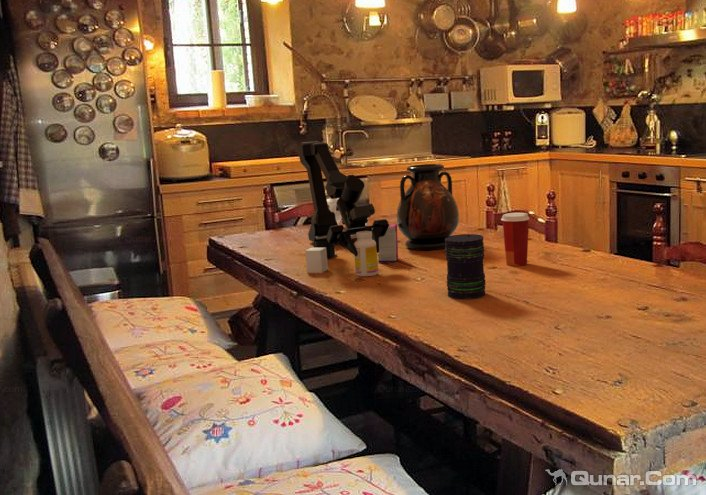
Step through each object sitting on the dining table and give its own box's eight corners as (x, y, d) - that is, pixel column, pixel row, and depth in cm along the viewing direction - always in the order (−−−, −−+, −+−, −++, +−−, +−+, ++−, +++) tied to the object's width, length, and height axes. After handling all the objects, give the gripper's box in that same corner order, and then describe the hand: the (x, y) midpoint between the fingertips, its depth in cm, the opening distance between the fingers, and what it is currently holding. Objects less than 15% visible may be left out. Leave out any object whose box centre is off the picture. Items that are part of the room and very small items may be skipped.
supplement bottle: (381, 272, 229) (378, 230, 226) (374, 277, 223) (371, 234, 220) (359, 272, 231) (357, 230, 229) (352, 277, 225) (349, 234, 222)
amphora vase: (444, 238, 278) (440, 161, 273) (471, 247, 258) (468, 164, 253) (389, 245, 271) (384, 166, 266) (412, 255, 251) (408, 170, 246)
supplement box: (396, 262, 242) (394, 226, 239) (378, 262, 243) (375, 227, 241) (399, 258, 247) (397, 223, 245) (381, 259, 248) (379, 224, 246)
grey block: (307, 272, 235) (305, 250, 234) (313, 269, 240) (311, 247, 238) (322, 273, 233) (320, 250, 232) (327, 269, 238) (326, 247, 237)
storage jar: (476, 301, 189) (474, 241, 186) (440, 298, 194) (438, 240, 191) (491, 291, 197) (489, 234, 194) (456, 289, 202) (454, 233, 200)
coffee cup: (533, 261, 229) (532, 212, 226) (527, 267, 222) (526, 216, 219) (505, 260, 233) (504, 212, 230) (499, 266, 225) (497, 216, 223)
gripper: (327, 199, 222) (344, 241, 215) (384, 192, 230) (403, 233, 222) (319, 222, 231) (336, 264, 223) (375, 215, 238) (392, 255, 230)
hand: (367, 253), depth 224 cm, fingers closed on supplement bottle, 7 cm apart
